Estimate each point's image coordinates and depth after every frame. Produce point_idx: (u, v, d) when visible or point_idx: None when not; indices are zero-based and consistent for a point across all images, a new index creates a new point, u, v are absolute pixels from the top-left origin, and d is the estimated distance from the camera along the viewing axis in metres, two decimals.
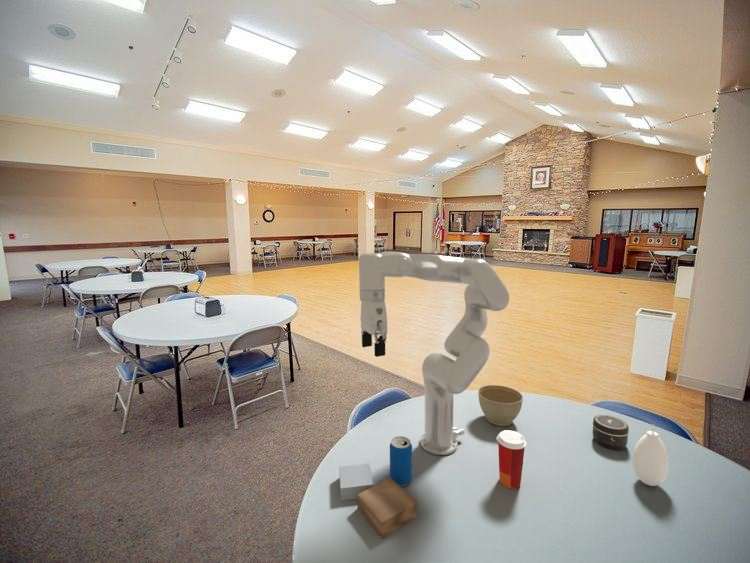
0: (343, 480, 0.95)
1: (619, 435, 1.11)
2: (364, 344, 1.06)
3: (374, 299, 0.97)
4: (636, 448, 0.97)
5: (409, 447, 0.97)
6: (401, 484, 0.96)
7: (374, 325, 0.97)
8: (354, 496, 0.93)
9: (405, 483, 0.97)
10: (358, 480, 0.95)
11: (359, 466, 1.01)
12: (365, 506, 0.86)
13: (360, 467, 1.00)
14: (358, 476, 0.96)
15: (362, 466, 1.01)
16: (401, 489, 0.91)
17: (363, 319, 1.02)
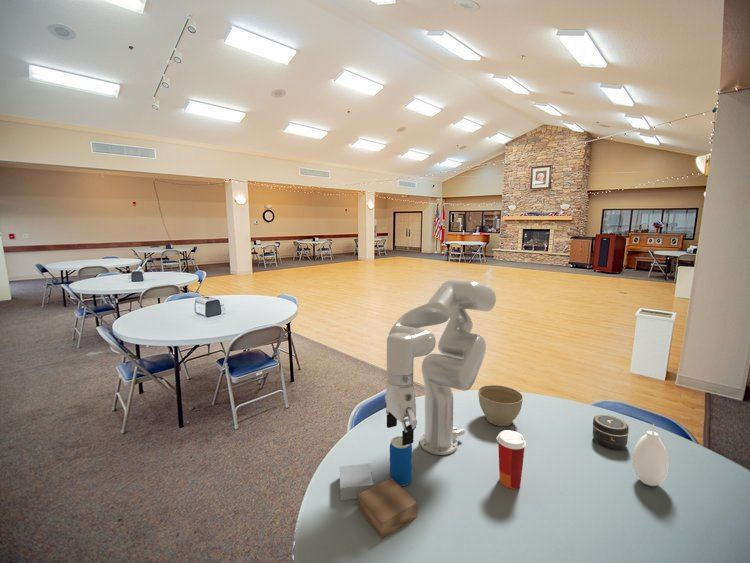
0: (343, 480, 0.95)
1: (619, 435, 1.11)
2: (389, 425, 1.01)
3: (403, 384, 0.92)
4: (636, 448, 0.97)
5: (409, 447, 0.97)
6: (401, 484, 0.96)
7: (403, 412, 0.92)
8: (354, 496, 0.93)
9: (405, 483, 0.97)
10: (358, 481, 0.95)
11: (359, 466, 1.01)
12: (365, 506, 0.86)
13: (360, 467, 1.00)
14: (358, 477, 0.96)
15: (362, 466, 1.01)
16: (401, 489, 0.91)
17: (389, 401, 0.97)
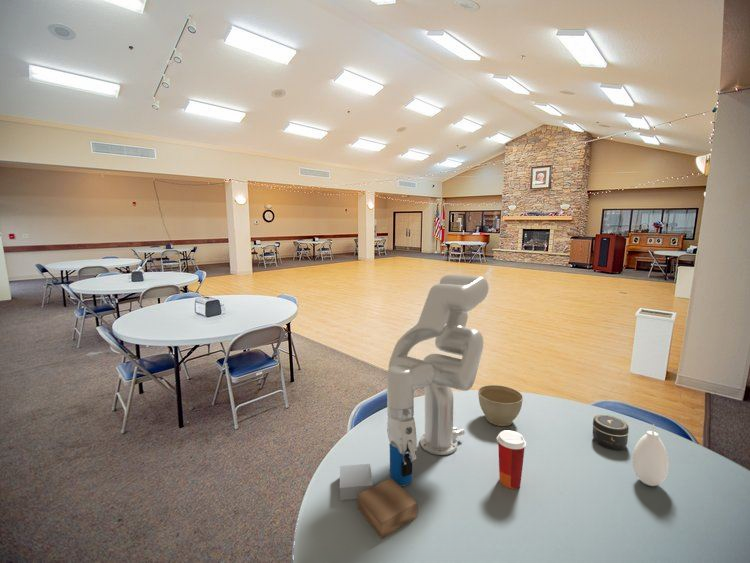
0: (343, 479, 0.95)
1: (619, 435, 1.11)
2: None
3: (403, 418, 0.93)
4: (636, 448, 0.97)
5: None
6: (401, 484, 0.96)
7: (404, 445, 0.93)
8: (353, 496, 0.93)
9: (405, 483, 0.97)
10: (358, 481, 0.94)
11: (359, 466, 1.01)
12: (365, 506, 0.86)
13: (361, 467, 1.00)
14: (358, 477, 0.96)
15: (363, 466, 1.01)
16: (401, 489, 0.91)
17: (391, 433, 0.98)
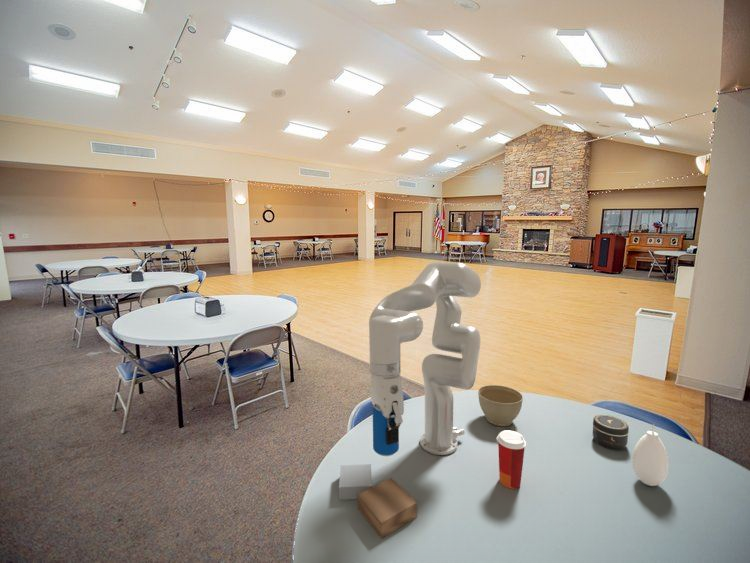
0: (343, 479, 0.95)
1: (619, 435, 1.11)
2: None
3: (388, 375, 0.80)
4: (636, 448, 0.97)
5: None
6: (385, 454, 0.83)
7: (388, 407, 0.79)
8: (352, 496, 0.93)
9: (390, 453, 0.83)
10: (357, 481, 0.94)
11: (360, 466, 1.01)
12: (365, 506, 0.86)
13: (361, 467, 1.00)
14: (358, 477, 0.96)
15: (363, 466, 1.00)
16: (401, 489, 0.91)
17: (374, 395, 0.85)
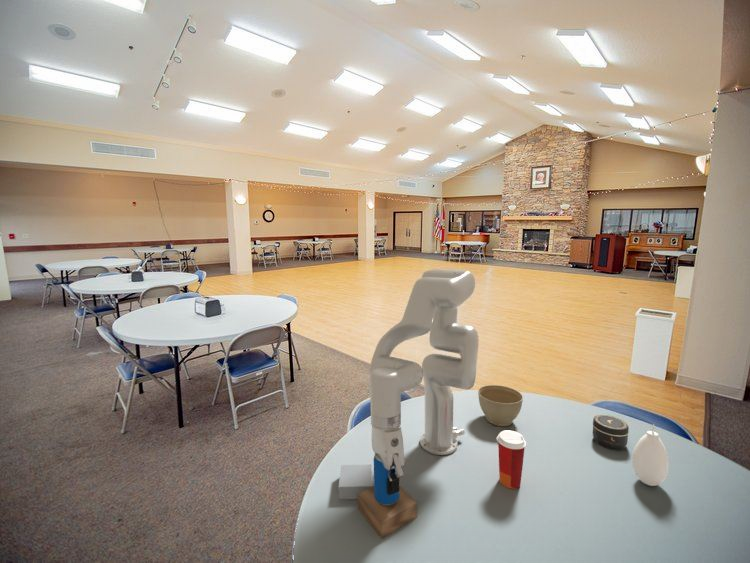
0: (343, 479, 0.95)
1: (619, 435, 1.11)
2: None
3: (389, 428, 0.81)
4: (636, 448, 0.97)
5: None
6: (386, 503, 0.84)
7: (389, 460, 0.81)
8: (352, 496, 0.93)
9: (391, 502, 0.84)
10: (357, 481, 0.94)
11: (360, 466, 1.01)
12: (365, 506, 0.86)
13: (361, 467, 1.00)
14: (358, 477, 0.96)
15: (364, 466, 1.00)
16: (401, 489, 0.91)
17: (375, 444, 0.86)
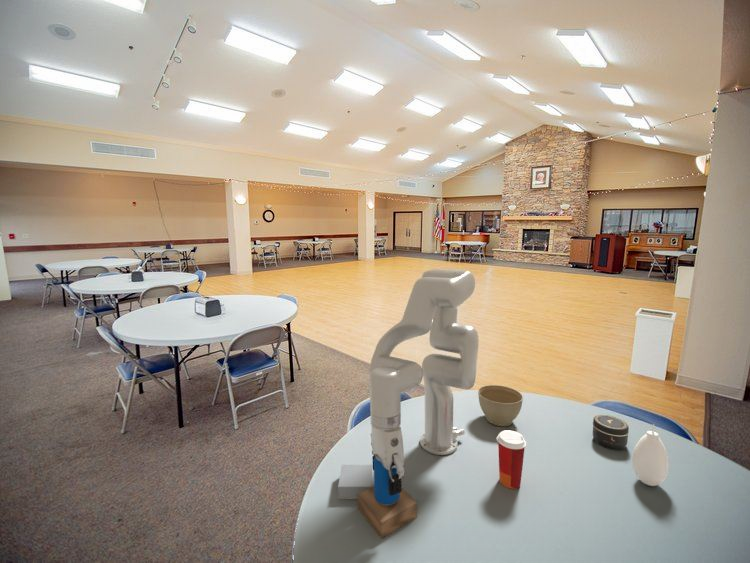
0: (343, 478, 0.95)
1: (619, 435, 1.11)
2: None
3: (388, 428, 0.81)
4: (636, 448, 0.97)
5: None
6: (386, 503, 0.84)
7: (388, 459, 0.81)
8: (351, 496, 0.93)
9: (391, 502, 0.84)
10: (357, 481, 0.94)
11: (361, 466, 1.01)
12: (365, 506, 0.86)
13: (362, 468, 1.00)
14: (358, 477, 0.96)
15: (364, 466, 1.00)
16: None
17: (375, 444, 0.86)
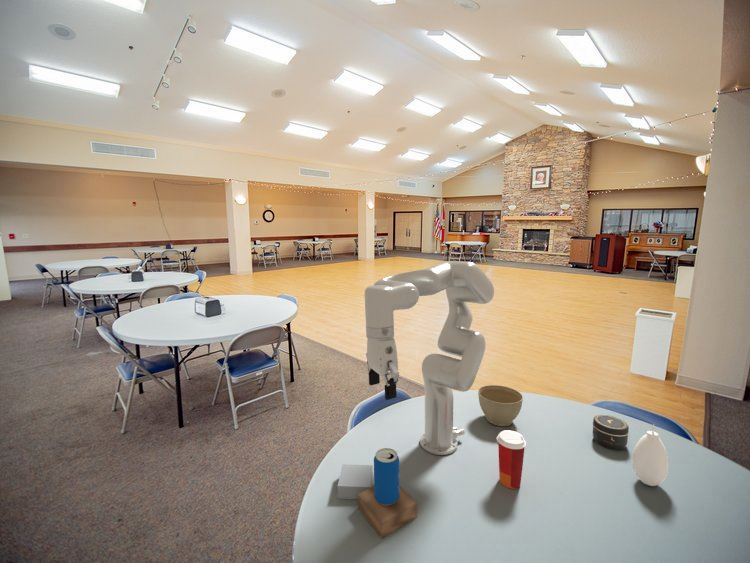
0: (342, 478, 0.96)
1: (619, 435, 1.11)
2: (371, 382, 0.98)
3: (383, 337, 0.88)
4: (636, 448, 0.97)
5: (396, 461, 0.85)
6: (386, 503, 0.84)
7: (384, 366, 0.88)
8: (351, 496, 0.93)
9: (391, 502, 0.84)
10: (356, 481, 0.94)
11: (361, 466, 1.01)
12: (365, 506, 0.86)
13: (362, 468, 1.00)
14: (358, 477, 0.96)
15: (364, 467, 1.00)
16: (401, 489, 0.91)
17: (370, 357, 0.93)
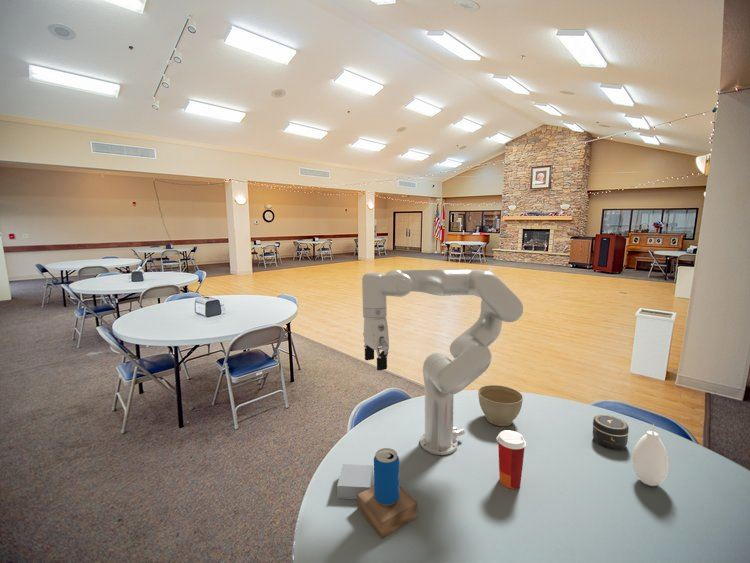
0: (342, 478, 0.96)
1: (619, 435, 1.11)
2: (367, 357, 1.13)
3: (376, 316, 1.04)
4: (636, 448, 0.97)
5: (396, 461, 0.85)
6: (386, 503, 0.84)
7: (376, 341, 1.03)
8: (350, 496, 0.93)
9: (391, 502, 0.84)
10: (356, 481, 0.94)
11: (361, 466, 1.00)
12: (365, 506, 0.86)
13: (362, 468, 1.00)
14: (358, 477, 0.96)
15: (365, 467, 1.00)
16: (401, 489, 0.91)
17: (366, 334, 1.09)
